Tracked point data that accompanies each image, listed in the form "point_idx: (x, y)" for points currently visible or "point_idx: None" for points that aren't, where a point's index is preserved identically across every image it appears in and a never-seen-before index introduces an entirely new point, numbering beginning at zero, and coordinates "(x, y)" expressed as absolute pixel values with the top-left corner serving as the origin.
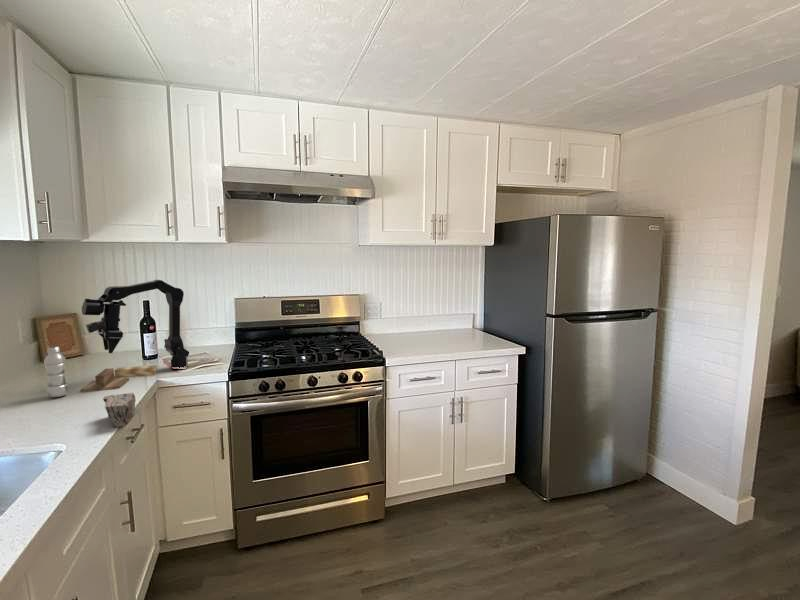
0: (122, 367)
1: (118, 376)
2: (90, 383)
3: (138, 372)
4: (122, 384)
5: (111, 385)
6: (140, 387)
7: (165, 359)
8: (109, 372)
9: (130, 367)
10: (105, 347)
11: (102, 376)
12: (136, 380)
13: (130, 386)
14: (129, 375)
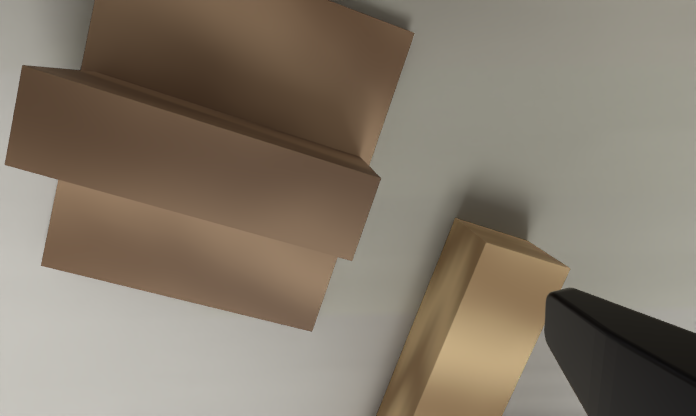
0: None
1: (450, 247)
2: (310, 15)
3: (395, 408)
4: (133, 283)
5: (111, 201)
6: (5, 404)
7: None
8: (219, 218)
9: (497, 374)
10: (585, 340)
11: (14, 149)
12: (262, 372)
13: (83, 334)
14: (418, 329)
